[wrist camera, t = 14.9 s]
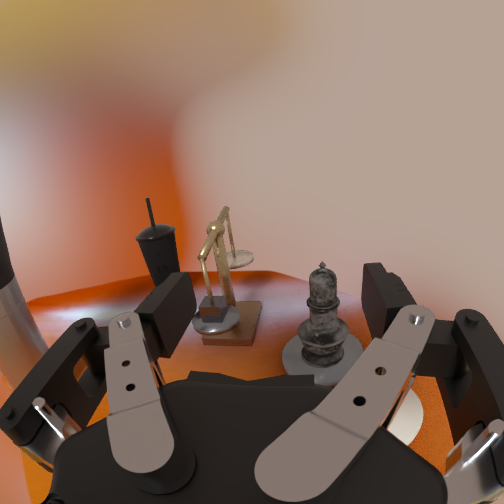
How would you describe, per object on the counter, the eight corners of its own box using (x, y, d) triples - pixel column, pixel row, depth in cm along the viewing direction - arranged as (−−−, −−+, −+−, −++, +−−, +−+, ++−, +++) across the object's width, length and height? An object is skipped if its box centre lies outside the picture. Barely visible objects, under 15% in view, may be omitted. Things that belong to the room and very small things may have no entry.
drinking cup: (151, 295, 54) (126, 202, 47) (184, 284, 57) (163, 192, 50) (158, 311, 47) (128, 205, 40) (195, 298, 51) (171, 193, 44)
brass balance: (194, 365, 33) (155, 242, 27) (227, 295, 50) (210, 204, 44) (245, 368, 32) (218, 236, 26) (264, 293, 49) (251, 199, 43)
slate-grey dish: (279, 390, 27) (278, 383, 27) (285, 336, 36) (284, 329, 36) (367, 384, 25) (369, 377, 25) (356, 331, 34) (357, 324, 34)
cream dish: (324, 467, 17) (325, 462, 17) (324, 388, 26) (324, 382, 26) (428, 449, 15) (432, 443, 15) (408, 378, 24) (410, 371, 24)
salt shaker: (325, 332, 34) (324, 246, 30) (356, 353, 29) (363, 260, 25) (289, 351, 32) (281, 262, 28) (319, 377, 27) (319, 281, 23)
